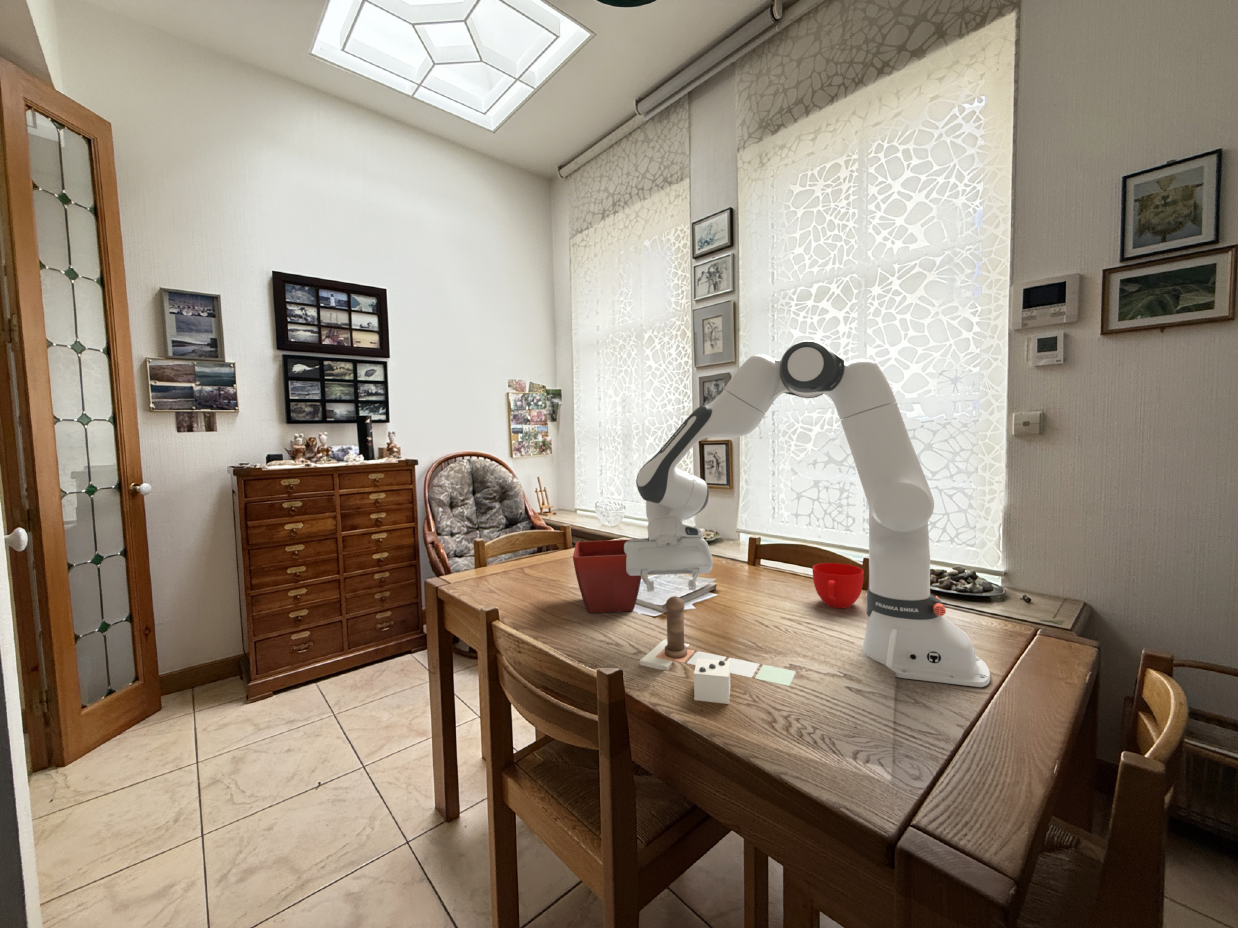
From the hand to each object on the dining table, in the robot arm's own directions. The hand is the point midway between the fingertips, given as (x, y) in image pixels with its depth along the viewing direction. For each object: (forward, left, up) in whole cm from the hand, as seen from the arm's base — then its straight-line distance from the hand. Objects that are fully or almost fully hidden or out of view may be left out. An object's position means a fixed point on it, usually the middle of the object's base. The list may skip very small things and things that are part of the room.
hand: (671, 589), depth 111 cm
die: (-15, +17, -13) cm, 27 cm away
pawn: (-3, +5, -12) cm, 13 cm away
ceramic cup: (-29, -44, -14) cm, 55 cm away
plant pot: (+28, -18, -14) cm, 36 cm away
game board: (-13, +5, -13) cm, 19 cm away
